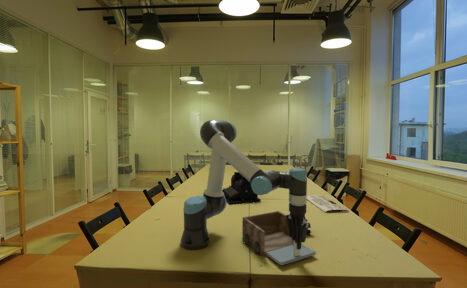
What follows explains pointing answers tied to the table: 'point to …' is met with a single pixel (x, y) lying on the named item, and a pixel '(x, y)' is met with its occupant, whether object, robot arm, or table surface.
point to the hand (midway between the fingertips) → (296, 254)
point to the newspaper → (325, 203)
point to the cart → (266, 232)
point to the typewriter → (240, 191)
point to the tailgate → (289, 254)
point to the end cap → (308, 230)
